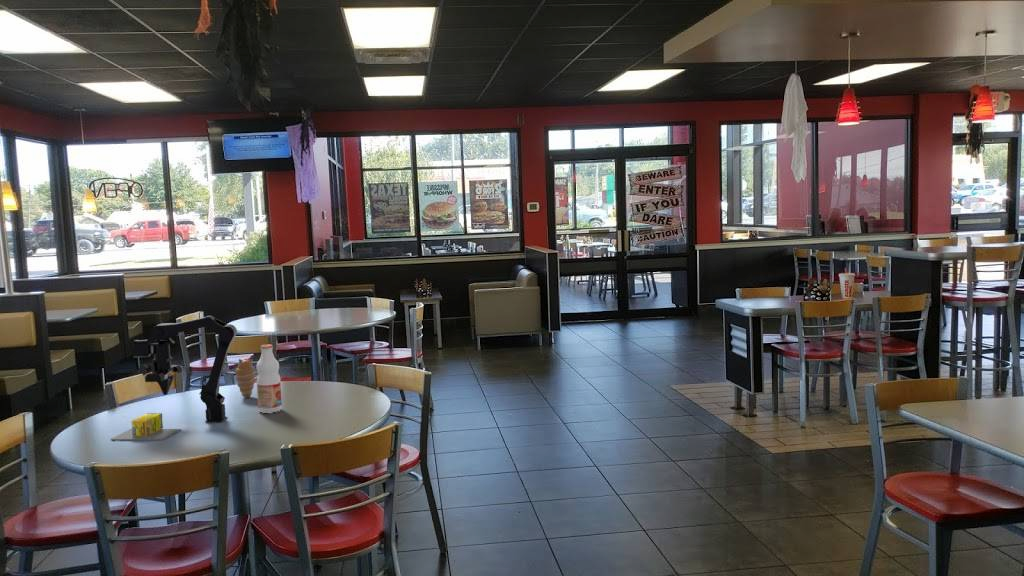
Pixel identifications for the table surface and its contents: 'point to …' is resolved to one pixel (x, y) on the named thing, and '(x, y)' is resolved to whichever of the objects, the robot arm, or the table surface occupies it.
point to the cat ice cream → (245, 377)
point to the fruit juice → (268, 381)
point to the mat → (155, 436)
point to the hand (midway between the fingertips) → (165, 394)
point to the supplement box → (147, 424)
